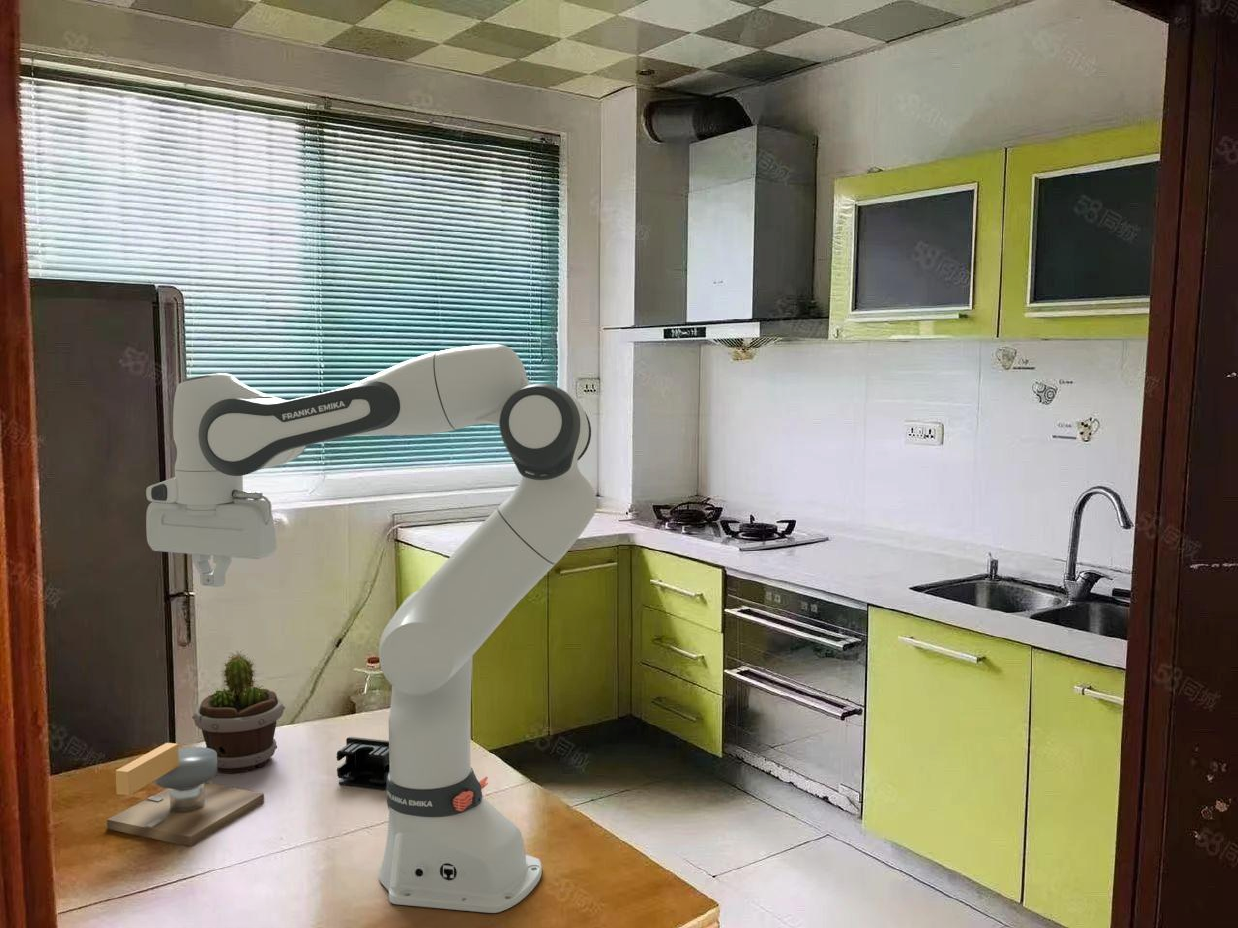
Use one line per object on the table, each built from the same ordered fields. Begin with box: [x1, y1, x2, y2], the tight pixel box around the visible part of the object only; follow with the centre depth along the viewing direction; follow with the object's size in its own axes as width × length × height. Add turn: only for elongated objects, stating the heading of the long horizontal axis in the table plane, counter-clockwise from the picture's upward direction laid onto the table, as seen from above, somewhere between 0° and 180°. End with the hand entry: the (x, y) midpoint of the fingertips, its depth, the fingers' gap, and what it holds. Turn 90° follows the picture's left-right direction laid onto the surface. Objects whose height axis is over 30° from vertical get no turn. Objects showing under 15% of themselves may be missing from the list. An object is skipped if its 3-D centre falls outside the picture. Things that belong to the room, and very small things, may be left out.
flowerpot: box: [191, 649, 286, 774], centre depth 177 cm, size 14×15×20 cm
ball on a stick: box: [115, 742, 218, 797], centre depth 151 cm, size 18×9×6 cm, turn 167°
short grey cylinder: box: [169, 783, 205, 813], centre depth 156 cm, size 5×5×4 cm
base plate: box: [106, 782, 265, 847], centre depth 157 cm, size 16×16×2 cm
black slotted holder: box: [336, 736, 390, 791], centre depth 170 cm, size 10×7×7 cm
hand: (212, 585), depth 142 cm, fingers closed
